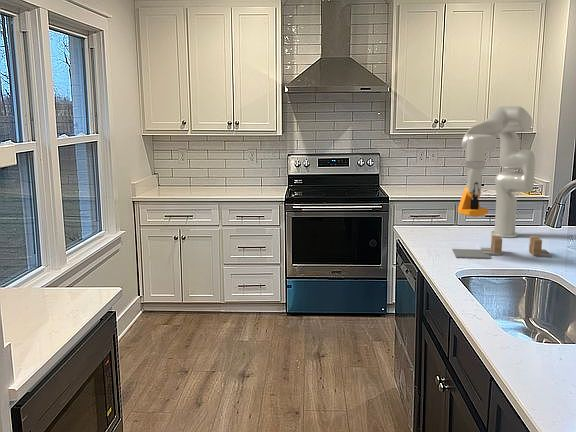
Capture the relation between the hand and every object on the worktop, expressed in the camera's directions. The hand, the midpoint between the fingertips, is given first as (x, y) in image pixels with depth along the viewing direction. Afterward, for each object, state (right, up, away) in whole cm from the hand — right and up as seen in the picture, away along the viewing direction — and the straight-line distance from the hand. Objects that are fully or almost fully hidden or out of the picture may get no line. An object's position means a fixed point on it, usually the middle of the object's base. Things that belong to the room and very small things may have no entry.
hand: (473, 207), depth 239 cm
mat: (0, -20, +4) cm, 20 cm away
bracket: (0, -3, 0) cm, 3 cm away
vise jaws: (+20, -20, +4) cm, 28 cm away
